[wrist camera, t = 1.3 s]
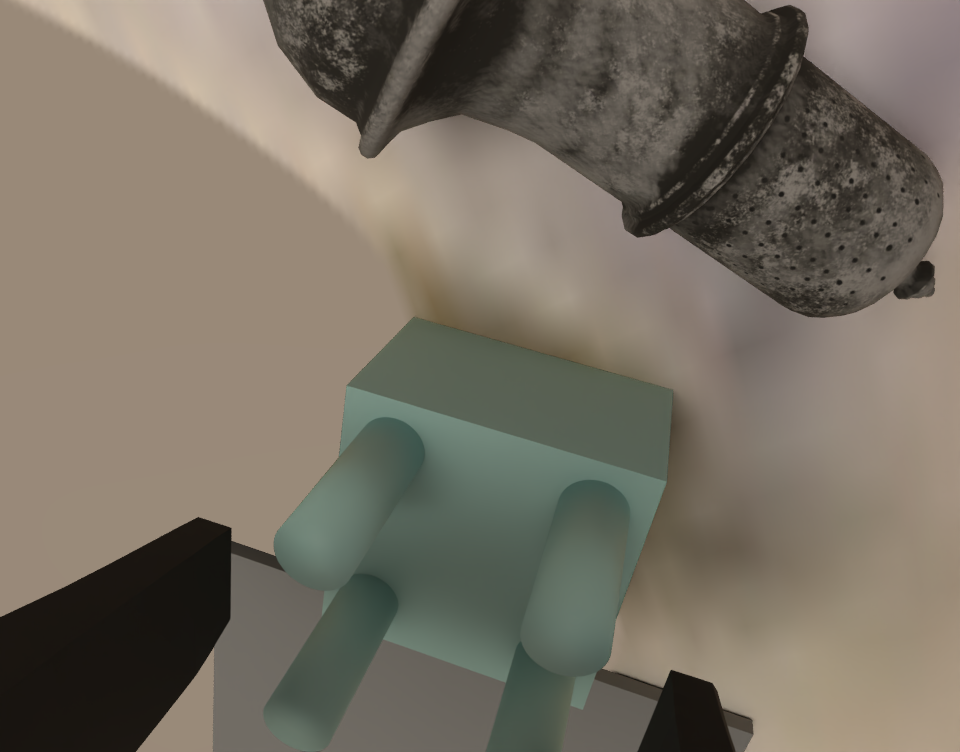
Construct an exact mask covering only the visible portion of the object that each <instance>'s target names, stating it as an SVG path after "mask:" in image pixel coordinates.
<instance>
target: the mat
mask: <svg viewBox="0 0 960 752" xmlns="http://www.w3.org/2000/svg"><path fill="white" fill-rule="evenodd" d="M323 599H324V591H320V590H315V589H312V588H309V587H306V586H304V585H302V584H300V583H299V582H297V581H295V580H294V579H293V578H292V577H290V576H289V575H288V574H287V573H286V572H285V570H284V569H283V568H282V567H281V565H280V564H279V562H278V560H277V558H276V556H274V555H271V554H268V553H265V552H262V551H259V550H256V549H253V548H251V547H248V546H245V545H242V544H239V543H236V542H233V541H231V619H230V621H229V623H228V624H227V626H226V628H225V629H224V631H223V633H222V634H221V636H220V638H219V639H218V641H217V643H216V644H215V646H214V710H213V714H214V715H213V752H306V751H301V750H297V749H295V748H292V747H290V746H288V745H286V744H285V743H283V742H282V741H280V740H279V739H278V738H277V737H275V736H274V735H273V733H272V732H271V731H270V730H269V728H268V727H267V725H266V723H265V721H264V717H263V710H264V707H265V705H266V703H267V702H268V700H269V699H270V697H271V696H272V694H273V692H274V691H275V689H276V688H277V686H278V685H279V683H280V681H281V680H282V678H283V677H284V675H285V674H286V672H287V670H288V669H289V667H290V666H291V664H292V663H293V661H294V659H295V658H296V656H297V655H298V653H299V652H300V650H301V649H302V647H303V645H304V644H305V642H306V641H307V639H308V638H309V636H310V634H311V633H312V631H313V630H314V628H315V627H316V625H317V623H318V622H319V620H320V619H321V617H322V608H323ZM505 684H506V683H505V682H502V681H500V680H497V679H494V678H491V677H488V676H486V675H483V674H480V673H477V672H474V671H471V670H469V669H466V668H463V667H460V666H457V665H454V664H452V663H449V662H446V661H443V660H440V659H438V658H435V657H432V656H429V655H426V654H423V653H421V652H418V651H415V650H412V649H409V648H406V647H404V646H401V645H398V644H395V643H392V642H389V641H387V640H384V639H383V640H382V642H381V644H380V646H379V648H378V650H377V652H376V654H375V656H374V658H373V660H372V662H371V663H370V665H369V667H368V669H367V671H366V673H365V675H364V677H363V679H362V681H361V683H360V685H359V687H358V689H357V691H356V693H355V695H354V697H353V698H352V700H351V702H350V704H349V706H348V708H347V710H346V712H345V714H344V716H343V718H342V720H341V722H340V724H339V726H338V728H337V730H336V731H335V733H334V735H333V737H332V739H331V741H330V743H329V745H328V746H327V747H326V748H324V749H323V750H320V751H316V752H486V749H487V745H488V742H489V739H490V735H491V732H492V728H493V725H494V722H495V718H496V715H497V711H498V708H499V705H500V701H501V698H502V694H503V691H504V687H505ZM661 693H662V689H660V688H657V687H654V686H651V685H648V684H645V683H642V682H639V681H636V680H633V679H631V678H628V677H625V676H622V675H619V674H616V673H613V672H610V671H607V670H604V669H600V670H599V671H597V673H596V675H595V678H594V681H593V683H592V686H591V689H590V692H589V694H588V697H587V700H586V702H585V705H584V708H583V710H582V709H579V708H576V707H573V706H570V710H569V716H568V721H567V726H566V732H565V737H564V742H563V748H562V752H637V751H638V749H639V747H640V744H641V742H642V739H643V737H644V734H645V732H646V729H647V727H648V725H649V722H650V720H651V717H652V715H653V712H654V710H655V707H656V705H657V703H658V700H659V698H660V695H661ZM723 713H724V716H725V720H726V723H727V726H728V729H729V732H730V735H731V739H732V742H733V745H734V748H735V751H736V752H744V751H745V749H746V747H747V745H748V743H749V742H750V740H751V738H752V736H753V724H752V720H749V719H747V718H744V717H741V716H738V715H735V714H732V713H729V712H726V711H723Z"/></svg>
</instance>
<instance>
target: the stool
mask: <svg viewBox="0 0 960 752" xmlns="http://www.w3.org/2000/svg"><path fill="white" fill-rule="evenodd" d="M672 401H673V390H671V389H668V388H664V387H661V386H657V385H653V384H650V383H646V382H643V381H639V380H636V379H632V378H629V377H625V376H622V375H618V374H614V373H611V372H607V371H604V370H600V369H597V368H593V367H590V366H586V365H582V364H579V363H575V362H572V361H568V360H565V359H561V358H558V357H554V356H550V355H547V354H543V353H540V352H536V351H533V350H529V349H526V348H522V347H518V346H515V345H511V344H508V343H504V342H501V341H497V340H494V339H490V338H487V337H483V336H479V335H476V334H472V333H469V332H465V331H462V330H458V329H455V328H451V327H447V326H444V325H440V324H437V323H433V322H430V321H426V320H423V319H419V318H415V317H413V318H412V319H411V320H410V321H409V322H408V323H407V324H406V325H405V326H404V327H403V328H402V329H401V331H399V333H398V334H397V335H396V336H395V337H394V338H393V339H392V340H391V341H390V342H389V343H388V344H387V345H386V346H385V347H384V348H383V349H382V350H381V351H380V352H379V353H378V354H377V355H376V356H375V357H374V358H373V359H372V360H371V361H370V362H369V363H368V364H367V365H366V366H365V367H364V368H363V369H362V370H361V371H360V372H359V373H358V374H357V375H356V377H354V378H353V379H352V380H351V382H350V383H349V384H348V385H347V387H346V396H345V406H344V415H343V424H342V434H341V442H340V451H339V458H338V459H337V460H336V462H335V463H334V464H333V465H332V466H331V467H330V469H329V470H328V471H327V472H326V473H325V475H324V476H323V477H322V478H321V479H320V481H319V482H318V483H317V484H316V485H315V487H314V488H313V489H312V490H311V492H310V493H309V494H308V495H307V496H306V497H305V499H304V500H303V501H302V502H301V504H300V505H299V506H298V507H297V508H296V509H295V511H294V512H293V513H292V514H291V516H290V517H289V518H288V519H287V520H286V521H285V523H284V524H283V525H282V527H280V529H279V530H278V531H277V533H276V535H275V538H274V551H275V555H276V558H277V560H278V562H279V564H280V565H281V567H282V568H283V569H284V570H285V572H286V573H287V574H288V575H289V576H290V577H292V578H293V579H294V580H295V581H297V582H299V583H300V584H302V585H304V586H306V587H309V588H312V589H315V590H320V591H324V599H323V608H322V617H321V619H320V620H319V622H318V623H317V625H316V627H315V628H314V630H313V631H312V633H311V634H310V636H309V638H308V639H307V641H306V642H305V644H304V645H303V647H302V649H301V650H300V652H299V653H298V655H297V656H296V658H295V659H294V661H293V663H292V664H291V666H290V667H289V669H288V670H287V672H286V674H285V675H284V677H283V678H282V680H281V681H280V683H279V685H278V686H277V688H276V689H275V691H274V692H273V694H272V696H271V697H270V699H269V700H268V702H267V703H266V705H265V707H264V710H263V717H264V721H265V723H266V725H267V727H268V728H269V730H270V731H271V732H272V733H273V735H274V736H275V737H277V738H278V739H279V740H280V741H282V742H283V743H285V744H286V745H288V746H290V747H292V748H295V749H297V750H301V751H306V752H316V751H320V750H323V749H324V748H326V747H327V746H328V745H329V743H330V741H331V739H332V737H333V735H334V733H335V731H336V730H337V728H338V726H339V724H340V722H341V720H342V718H343V716H344V714H345V712H346V710H347V708H348V706H349V704H350V702H351V700H352V698H353V697H354V695H355V693H356V691H357V689H358V687H359V685H360V683H361V681H362V679H363V677H364V675H365V673H366V671H367V669H368V667H369V665H370V663H371V662H372V660H373V658H374V656H375V654H376V652H377V650H378V648H379V646H380V644H381V642H382V640H383V639H384V640H387V641H389V642H392V643H395V644H398V645H401V646H404V647H406V648H409V649H412V650H415V651H418V652H421V653H423V654H426V655H429V656H432V657H435V658H438V659H440V660H443V661H446V662H449V663H452V664H454V665H457V666H460V667H463V668H466V669H469V670H471V671H474V672H477V673H480V674H483V675H486V676H488V677H491V678H494V679H497V680H500V681H502V682H505V683H506V684H505V687H504V691H503V694H502V698H501V701H500V705H499V708H498V711H497V715H496V718H495V722H494V725H493V728H492V732H491V735H490V739H489V742H488V745H487V749H486V752H562V748H563V742H564V737H565V732H566V726H567V721H568V716H569V710H570V706H573V707H576V708H579V709H582V710H583V708H584V705H585V702H586V700H587V697H588V694H589V692H590V689H591V686H592V683H593V681H594V678H595V675H596V673H597V671H599V670H600V669H602V668H603V667H604V666H605V665H606V663H607V662H608V660H609V658H610V655H611V650H612V642H613V636H614V629H615V622H616V618H617V616H618V613H619V610H620V608H621V605H622V602H623V599H624V597H625V594H626V591H627V589H628V586H629V583H630V580H631V578H632V575H633V572H634V570H635V567H636V564H637V561H638V559H639V556H640V553H641V551H642V548H643V545H644V543H645V540H646V537H647V534H648V532H649V529H650V526H651V524H652V521H653V518H654V515H655V513H656V510H657V507H658V505H659V502H660V499H661V496H662V494H663V491H664V488H665V486H666V483H667V474H668V459H669V445H670V430H671V416H672Z"/></svg>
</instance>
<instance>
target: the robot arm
mask: <svg viewBox="0 0 960 752" xmlns="http://www.w3.org/2000/svg"><path fill="white" fill-rule="evenodd" d="M230 619H231V528H230V527H227V526H224V525H220V524H218V523H215V522H211V521H209V520H205V519H202V518H199V517H198V518H196V519H194V520H192V521H190V522H188V523H186V524H184V525H182V526H180V527H178V528H176V529H174V530H172V531H171V532H169V533H167V534H165V535H163V536H161V537H159V538H158V539H156V540H154V541H152V542H150V543H148V544H146V545H144V546H142V547H141V548H139V549H137V550H135V551H133V552H131V553H129V554H128V555H126V556H124V557H122V558H120V559H118V560H116V561H114V562H112V563H111V564H109V565H107V566H105V567H103V568H101V569H99V570H97V571H95V572H93V573H91V574H89V575H87V576H85V577H83V578H81V579H79V580H77V581H76V582H74V583H72V584H70V585H68V586H66V587H64V588H62V589H59V590H57V591H55V592H53V593H51V594H49V595H47V596H45V597H42V598H40V599H38V600H36V601H34V602H32V603H30V604H27V605H25V606H23V607H21V608H19V609H17V610H15V611H13V612H10V613H8V614H6V615H4V616H2V617H0V752H136V751H137V750H138V748H139V747H140V746H141V745H142V743H143V742H144V741H145V740H146V738H147V737H148V736H149V735H150V733H151V732H152V731H153V729H154V728H155V727H156V726H157V724H158V723H159V722H160V721H161V719H162V718H163V717H164V715H165V714H166V713H167V712H168V711H169V709H170V708H171V707H172V705H173V704H174V703H175V702H176V700H177V699H178V698H179V696H180V695H181V694H182V693H183V691H184V690H185V689H186V688H187V686H188V685H189V684H190V682H191V681H192V680H193V678H194V677H195V676H196V674H197V673H198V671H199V670H200V668H201V666H202V665H203V663H204V662H205V660H206V659H207V657H208V656H209V654H210V652H211V651H212V649H213V647H214V646H215V644H216V643H217V641H218V639H219V638H220V636H221V634H222V633H223V631H224V629H225V628H226V626H227V624H228V623H229V621H230ZM637 752H736V751H735V748H734V745H733V742H732V739H731V735H730V732H729V729H728V726H727V723H726V720H725V716H724V713H723V710H722V706H721V703H720V699H719V696H718V692H717V690H716V688H715V687H714V685H713V683H710V682H707V681H704V680H701V679H698V678H695V677H692V676H689V675H686V674H682V673H679V672H676V671H673V670H671V671H670V673H669V676H668V678H667V681H666V683H665V685H664V688H663V690H662V693H661V695H660V698H659V700H658V703H657V705H656V707H655V710H654V712H653V715H652V717H651V720H650V722H649V725H648V727H647V729H646V732H645V734H644V737H643V739H642V742H641V744H640V747H639V749H638V751H637Z"/></svg>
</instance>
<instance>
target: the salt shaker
mask: <svg viewBox="0 0 960 752" xmlns="http://www.w3.org/2000/svg"><path fill="white" fill-rule="evenodd" d="M263 1H264V4H265V7H266V10H267V13H268V16H269V19H270V22H271V26H272V29H273V32H274V35H275V38H276V41H277V44H278V46H279V48H280V49H281V50H282V51H283V53H284V54H285V55H286V57H287V58H288V59H289V61H290V62H291V63H292V65H293V66H294V67H295V69H296V70H297V71H298V73H299V74H300V75H301V77H302V78H303V79H304V81H305V82H306V83H307V85H308V86H309V87H310V89H311V90H312V91H313V93H314V94H315V95H316V96H317V97H318V98H319V99H321V100H322V101H324V102H325V103H327V104H329V105H330V106H332V107H333V108H335V109H336V110H338V111H339V112H341V113H342V114H344V115H346V116H347V117H349V118H350V119H352V120H353V121H355V122H356V123H357V126H358V129H359V131H360V134H361V139H360V143H359V147H358V148H359V150H360V153H361V155H363V156H365V157H366V158H375V157H376V156H377V155H378V154H379V153H380V152H381V151H382V150H383V149H384V147H385V146H386V145H387V144H388V143H389V142H390V141H391V140H392V139H393V138H394V137H395V136H396V135H397V134H398V133H400V132H401V131H404V130H406V129H409V128H412V127H415V126H418V125H421V124H424V123H427V122H429V121H434V120H438V119H443V118H447V117H451V116H456V115H460V114H463V115H466V116H468V117H471V118H474V119H477V120H480V121H483V122H486V123H489V124H492V125H494V126H497V127H500V128H503V129H506V130H508V131H510V132H513V133H515V134H517V135H519V136H522V137H524V138H526V139H528V140H531V141H533V142H535V143H536V144H538V145H539V146H541V147H542V148H544V149H545V150H547V151H548V152H550V153H551V154H553V155H554V156H556V157H557V158H558V159H560V160H561V161H563V162H564V163H566V164H567V165H569V166H570V167H572V168H573V169H575V170H576V171H577V172H579V173H580V174H582V175H583V176H585V177H586V178H588V179H589V180H591V181H592V182H594V183H595V184H596V185H598V186H599V187H601V188H602V189H604V190H605V191H607V192H608V193H610V194H611V195H613V196H614V197H615V198H617V199H618V200H620V201H621V202H622V205H623V211H622V219H623V223H624V228H625V230H626V231H628V232H629V233H631V234H633V235H634V236H636V237H637V238H638V237H645V236H651V235H655V234H657V233H659V232H661V231H663V230H664V229H668V228H670V229H672V230H673V231H674V232H676V233H677V234H679V235H680V236H682V237H683V238H685V239H686V240H688V241H689V242H690V243H692V244H693V245H695V246H696V247H698V248H699V249H701V250H702V251H704V252H705V253H706V254H708V255H709V256H711V257H712V258H714V259H715V260H717V261H718V262H720V263H721V264H723V265H724V266H725V267H727V268H728V269H730V270H731V271H733V272H734V273H736V274H737V275H739V276H740V277H741V278H743V279H744V280H746V281H747V282H749V283H750V284H752V285H753V286H755V287H756V288H758V289H759V290H760V291H762V292H763V293H765V294H766V295H768V296H769V297H771V298H772V299H774V300H775V301H776V302H778V303H779V304H781V305H783V306H784V307H786V308H788V309H790V310H791V311H794V312H797V313H799V314H802V315H805V316H807V317H820V318H824V317H834V316H842V315H846V314H850V313H854V312H857V311H859V310H861V309H863V308H866V307H868V306H870V305H872V304H874V303H875V302H877V301H878V300H880V299H881V298H882V297H884V296H885V295H887V294H888V293H890V292H891V291H892V290H894V292H893V293H894V294H895V296H896V297H897V298H898V299H910V298H922V297H924V296H925V297H930V296H932V295H933V294H934V291H935V288H934V285H935V278H934V268H935V266H933V265H932V264H931V263H930V262H929V261H921V260H922V259H923V257H924V256H925V255H926V253H927V251H928V249H929V248H930V246H931V244H932V242H933V241H934V239H935V237H936V235H937V232H938V229H939V226H940V223H941V220H942V217H943V182H942V180H941V177H940V175H939V173H938V170H937V169H936V167H935V166H934V165H933V163H932V162H931V160H930V159H929V157H928V156H927V155H926V154H925V153H924V152H922V151H921V150H920V149H919V148H917V147H916V146H915V145H914V144H912V143H911V142H910V141H909V140H907V139H906V138H905V137H903V136H902V135H901V134H900V133H898V132H897V131H896V130H895V129H893V128H892V127H891V126H890V125H888V124H887V123H886V122H885V121H883V120H882V119H881V118H880V117H878V116H877V115H876V114H875V113H873V112H872V111H871V110H870V109H868V108H867V107H866V106H865V105H863V104H862V103H861V102H860V101H858V100H857V99H856V98H855V97H853V96H852V95H851V94H850V93H848V92H847V91H846V90H845V89H843V88H842V87H841V86H840V85H838V84H837V83H836V82H835V81H833V80H832V79H831V78H830V77H828V76H827V75H826V74H825V73H823V72H822V71H821V70H820V69H818V68H817V67H816V66H815V65H813V64H812V63H811V62H810V61H808V60H807V59H806V58H805V57H803V55H804V50H805V46H806V41H807V36H808V23H807V19H806V15H805V13H804V12H803V11H802V10H800V9H798V8H796V7H793V6H791V5H788V6H784V7H780V8H777V9H774V10H771V11H769V12H765V13H762V14H761V13H759V12H758V11H757V10H756V9H754V8H753V7H752V6H751V5H749V4H748V3H747V2H746V1H744V0H263Z"/></svg>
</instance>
